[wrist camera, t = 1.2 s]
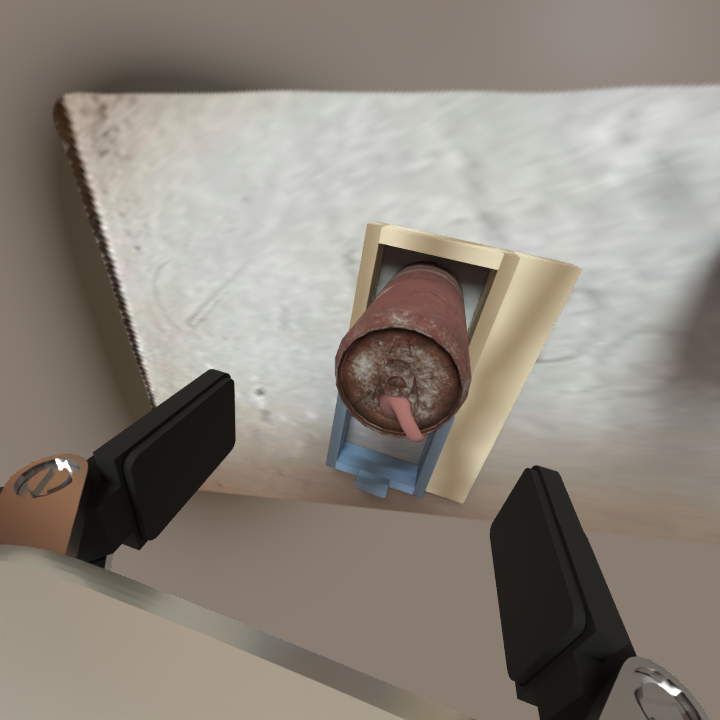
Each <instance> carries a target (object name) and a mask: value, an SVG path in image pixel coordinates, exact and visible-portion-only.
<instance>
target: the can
mask: <svg viewBox="0 0 720 720" xmlns="http://www.w3.org/2000/svg"><path fill="white" fill-rule="evenodd" d="M335 376H336V386H337V389H338V392H339V395H340V398H341V401H342V402H343V404H344V405H345V406H346V408H347V409H348V411H349V412H350V413H351V415H352V416H353V417H355V418H356V419H357V420H358V421H359V422H361V423H362V424H363V425H364V426H366V427H368V428H370V429H372V430H374V431H376V432H378V433H380V434H383V435H388V436H393V437H398V438H408V439H409V440H412V441H415V442H419V441H422V440H423V439H424V438H425V437H426V434H429V433H432V432H435V431H437V430H438V429H439V428H441V427H442V426H444V425H445V424H446V423H448V422H449V421H450V420H451V418H452V417H453V416H454V415H455V414H456V413H457V412H458V411H459V409H460V408H461V406H462V405H463V403H464V402H465V400H466V399H467V397H468V392H469V388H470V384H471V379H472V377H471V367H470V357H469V347H468V338H467V328H466V318H465V308H464V299H463V292H462V287H461V285H460V283H459V281H458V279H457V278H456V276H455V275H454V274H453V273H452V272H451V271H449V270H448V269H447V268H446V267H444V266H441V265H439V264H437V263H434V262H422V261H421V262H417V263H413V264H409V265H407V266H406V267H404V268H402V269H401V270H399V271H398V272H397V273H396V274H395V275H394V276H393V278H392V279H391V280H390V281H389V282H388V284H387V285H386V286H385V287H384V288H383V290H382V291H381V292H380V293H379V295H378V296H377V297H376V298H375V300H374V301H373V302H372V303H371V304H370V306H369V307H368V308H367V309H366V311H365V312H364V313H363V314H362V316H361V317H360V318H359V319H358V320H357V322H356V323H355V324H354V325H353V327H352V328H351V329H350V330H349V332H348V333H347V334H346V335H345V337H344V338H343V339H342V340H341V343H340V346H339V349H338V351H337V354H336V357H335Z"/></svg>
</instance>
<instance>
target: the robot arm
mask: <svg viewBox="0 0 720 720" xmlns="http://www.w3.org/2000/svg"><path fill="white" fill-rule="evenodd" d="M234 444H235V392H234V381H233V380H232V379H231V377H230V375H229V374H228V373H224V372H221V371H218V370H214V369H210V370H208V371H207V372H205V373H204V374H202V375H201V376H200V377H198V378H197V379H195V380H194V381H192V382H191V383H190V384H188V385H187V386H185V387H184V388H183V389H181V390H180V391H178V392H177V393H176V394H174V395H173V396H171V397H170V398H169V399H167V400H166V401H164V402H163V403H162V404H160V405H159V406H157V407H156V408H155V409H153V410H152V411H150V412H149V413H148V414H146V415H145V416H143V417H142V418H140V419H139V420H138V421H136V422H135V423H133V424H132V425H131V426H129V427H128V428H127V429H125V430H124V431H122V432H121V433H119V434H118V435H117V436H115V437H114V438H112V439H111V440H110V441H108V442H107V443H105V444H104V445H103V446H101V447H100V448H98V449H97V450H96V451H94V452H93V454H94V455H93V456H92V457H90V458H89V459H88V460H86V459H85V458H83V457H81V456H79V455H75V454H57V455H52V456H48V457H44V458H42V459H39V460H37V461H34V462H32V463H30V464H28V465H27V466H25V467H23V468H22V469H20V470H19V471H17V472H16V473H15V474H14V475H12V476H11V477H10V479H9V480H8V481H7V483H6V484H5V486H4V487H0V720H476V719H473V718H471V717H469V716H466V715H464V714H462V713H459V712H457V711H454V710H452V709H450V708H447V707H445V706H442V705H440V704H437V703H435V702H433V701H430V700H428V699H425V698H423V697H421V696H418V695H416V694H413V693H410V692H408V691H406V690H404V689H401V688H399V687H396V686H394V685H391V684H389V683H387V682H384V681H382V680H379V679H377V678H374V677H372V676H370V675H367V674H365V673H362V672H360V671H358V670H355V669H353V668H350V667H348V666H345V665H343V664H340V663H338V662H336V661H333V660H331V659H328V658H326V657H323V656H321V655H318V654H316V653H313V652H311V651H309V650H306V649H303V648H301V647H299V646H296V645H294V644H291V643H289V642H286V641H284V640H282V639H279V638H277V637H274V636H272V635H269V634H267V633H264V632H262V631H259V630H257V629H255V628H252V627H250V626H247V625H245V624H242V623H240V622H237V621H235V620H232V619H230V618H227V617H225V616H222V615H220V614H217V613H215V612H212V611H210V610H207V609H205V608H202V607H200V606H197V605H195V604H192V603H190V602H187V601H185V600H182V599H180V598H177V597H175V596H172V595H170V594H167V593H165V592H162V591H160V590H157V589H155V588H152V587H150V586H147V585H145V584H142V583H140V582H137V581H135V580H132V579H130V578H127V577H124V576H122V575H119V574H116V573H114V572H111V566H112V560H113V553H114V552H115V551H116V550H117V549H118V548H119V546H120V545H121V544H124V545H127V546H129V547H132V548H134V549H137V550H140V549H141V548H142V547H143V546H144V545H145V543H146V542H147V541H148V540H153V539H155V538H156V537H157V536H158V535H159V534H160V533H161V532H162V530H163V529H164V528H165V527H166V526H167V525H168V523H169V522H170V521H171V520H172V519H173V518H174V517H175V515H176V514H177V513H178V512H179V511H180V510H181V508H182V507H183V506H184V505H185V504H186V503H187V501H188V500H189V499H190V498H191V497H192V496H193V495H194V493H195V492H196V491H197V490H198V489H199V488H200V486H201V485H202V484H203V483H204V482H205V481H206V479H207V478H208V477H209V476H210V475H211V474H212V472H213V471H214V470H215V469H216V468H217V467H218V465H219V464H220V463H221V462H222V461H223V460H224V459H225V457H226V456H227V455H228V454H229V453H230V452H231V450H232V449H233V447H234ZM490 541H491V549H492V555H493V564H494V571H495V579H496V587H497V595H498V601H499V602H498V603H499V610H500V617H501V626H502V633H503V640H504V649H505V656H506V664H507V670H508V674H509V677H510V679H511V680H513V681H515V685H516V692H517V699H519V700H522V701H525V702H527V703H530V704H532V705H535V706H537V707H538V711H539V716H540V720H709V718H708V716H707V714H706V712H705V711H704V709H703V708H702V707H701V705H700V704H699V703H698V701H697V700H696V699H695V697H694V696H693V695H692V693H691V692H690V691H689V690H688V689H687V688H686V687H685V686H684V685H683V684H682V683H681V682H680V681H679V680H678V679H677V678H676V677H675V676H674V675H672V674H671V673H670V672H668V671H667V670H666V669H665V668H664V667H662V666H660V665H659V664H657V663H655V662H653V661H652V660H650V659H646V658H642V657H639V656H636V653H635V651H634V649H633V646H632V644H631V641H630V639H629V636H628V634H627V632H626V629H625V627H624V625H623V622H622V620H621V617H620V616H619V613H618V610H617V608H616V605H615V603H614V601H613V598H612V596H611V593H610V591H609V589H608V586H607V584H606V581H605V579H604V577H603V574H602V572H601V570H600V567H599V565H598V563H597V560H596V557H595V555H594V553H593V550H592V548H591V546H590V543H589V541H588V538H587V537H586V535H585V533H584V532H583V529H582V527H581V524H580V522H579V519H578V517H577V515H576V512H575V510H574V507H573V505H572V503H571V500H570V498H569V495H568V493H567V491H566V488H565V486H564V483H563V481H562V478H561V476H560V474H559V473H558V472H557V471H554V470H551V469H547V468H544V467H541V466H537V465H535V466H533V467H532V468H531V469H530V468H526V469H525V470H524V472H523V473H522V475H521V477H520V478H519V480H518V482H517V483H516V485H515V487H514V488H513V490H512V492H511V493H510V495H509V496H508V498H507V500H506V501H505V503H504V505H503V506H502V508H501V510H500V511H499V513H498V515H497V516H496V518H495V520H494V521H493V523H492V525H491V529H490Z"/></svg>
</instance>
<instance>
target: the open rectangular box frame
mask: <svg viewBox="0 0 720 720" xmlns="http://www.w3.org/2000/svg"><path fill="white" fill-rule="evenodd" d="M385 245H390V246H394V247H399V248H403V249H408V250H412V251H416V252H421V253H425V254H430V255H434V256H438V257H443V258H447V259H452V260H456V261H460V262H465V263H469V264H474V265H478V266H482V267H487V268H491V269H490V272H489V275H488V277H487V280H486V283H485V286H484V288H483V291H482V294H481V296H480V299H479V302H478V304H477V307H476V310H475V313H474V315H473V318H472V321H471V323H470V326H469V329H468V331H467V338H468V347H469V357H470V367H471V377H472V379H471V384H470V388H469V392H468V397H467V399H466V400H465V402H464V403H463V405H462V406H461V408H460V409H459V411H458V412H457V413H456V414H455V415H454V416H453V417H452V418H451V420H450V421H449V422H448V423H446V424H445V425H444V426H442V427H441V428H439V429H438V430H437V431H435V432H432V433H430V434H429V437H428V439H427V442H426V445H425V448H424V450H423V453H422V456H421V458H420V461H419V464H418V465H415V464H412V463H409V462H406V461H403V460H400V459H396V458H393V457H390V456H387V455H384V454H381V453H378V452H375V451H372V450H369V449H366V448H363V447H360V446H357V445H354V444H351V443H348V442H345V441H346V436H347V431H348V426H349V421H350V417H351V413H350V412H349V411H348V409H347V408H346V406H345V405H344V404H343V402H342V401H341V398H340V395H339V392H338V398H337V404H336V409H335V415H334V421H333V427H332V433H331V438H330V444H329V450H328V456H327V462H326V465H327V466H329V467H332V468H335V469H338V470H341V471H344V472H347V473H350V474H353V475H356V476H358V478H357V480H356V484H355V488H356V489H358V490H361V491H364V492H367V493H370V494H373V495H376V496H378V497H381V498H384V499H385V496H386V493H387V489H388V487H391V488H394V489H397V490H400V491H403V492H406V493H408V494H411V495H414V496H417V497H420V498H423V495H424V493H425V491H427V492H430V493H433V494H436V495H439V496H442V497H445V498H448V499H451V500H454V501H457V502H460V503H464V501H465V499H466V497H467V495H468V493H469V491H470V489H471V487H472V485H473V483H474V481H475V479H476V477H477V475H478V473H479V472H480V470H481V468H482V466H483V464H484V462H485V460H486V458H487V456H488V454H489V452H490V450H491V448H492V446H493V444H494V442H495V440H496V438H497V436H498V434H499V432H500V430H501V428H502V426H503V424H504V422H505V421H506V419H507V417H508V415H509V413H510V411H511V409H512V407H513V405H514V403H515V401H516V399H517V397H518V395H519V393H520V391H521V389H522V387H523V385H524V383H525V381H526V379H527V377H528V375H529V373H530V371H531V370H532V368H533V366H534V364H535V362H536V360H537V358H538V356H539V354H540V352H541V350H542V348H543V346H544V344H545V342H546V340H547V338H548V336H549V334H550V332H551V330H552V328H553V326H554V324H555V322H556V320H557V319H558V317H559V315H560V313H561V311H562V309H563V307H564V305H565V303H566V301H567V299H568V297H569V295H570V293H571V291H572V289H573V287H574V285H575V283H576V281H577V279H578V277H579V275H580V273H581V271H582V269H580V268H579V267H577V266H575V265H573V264H569V263H564V262H560V261H555V260H551V259H546V258H541V257H537V256H532V255H527V254H523V253H518V252H514V251H509V250H504V249H500V248H495V247H491V246H486V245H481V244H477V243H472V242H468V241H463V240H458V239H454V238H449V237H445V236H440V235H435V234H431V233H426V232H421V231H417V230H412V229H408V228H403V227H398V226H394V225H389V224H385V223H380V222H374V223H370V224H367V229H366V235H365V241H364V247H363V252H362V258H361V264H360V270H359V276H358V281H357V287H356V293H355V299H354V305H353V311H352V316H351V322H350V328H349V330H350V329H351V328H352V327H353V325H354V324H355V323H356V322H357V320H358V319H359V318H360V317H361V316H362V314H363V313H364V312H365V311H366V309H367V308H368V307H369V306H370V304H371V303H372V302H373V301H374V299H375V294H376V289H377V284H378V279H379V274H380V269H381V264H382V259H383V255H384V250H385Z"/></svg>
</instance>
